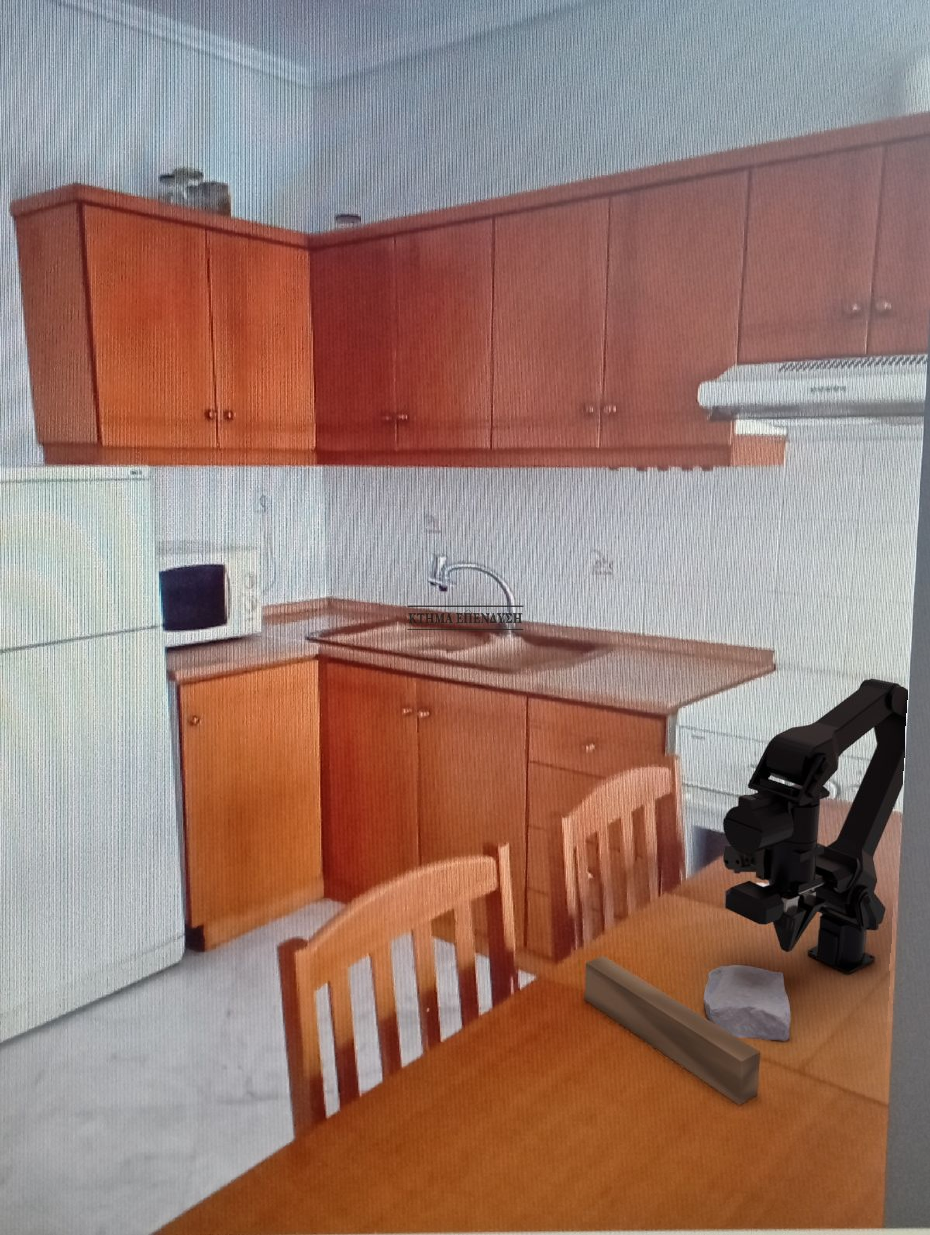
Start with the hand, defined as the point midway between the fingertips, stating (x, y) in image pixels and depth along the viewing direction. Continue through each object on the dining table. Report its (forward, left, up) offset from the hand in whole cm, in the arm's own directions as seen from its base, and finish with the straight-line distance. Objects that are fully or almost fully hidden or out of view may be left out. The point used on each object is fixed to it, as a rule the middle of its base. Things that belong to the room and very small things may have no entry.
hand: (786, 950), depth 121 cm
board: (+22, 0, -5) cm, 23 cm away
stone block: (+9, +1, -6) cm, 11 cm away
